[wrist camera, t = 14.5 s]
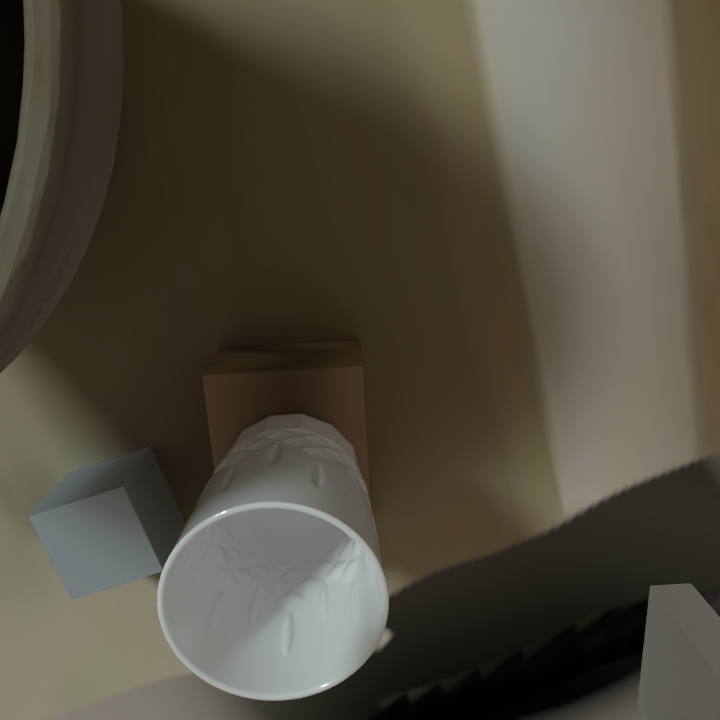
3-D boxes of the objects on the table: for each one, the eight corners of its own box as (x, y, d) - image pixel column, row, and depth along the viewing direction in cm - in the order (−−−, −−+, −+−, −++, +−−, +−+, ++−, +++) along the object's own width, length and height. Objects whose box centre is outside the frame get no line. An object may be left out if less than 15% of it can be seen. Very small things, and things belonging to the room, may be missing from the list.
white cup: (313, 574, 34) (304, 735, 24) (179, 495, 32) (113, 633, 22) (404, 457, 32) (435, 579, 22) (268, 368, 30) (238, 459, 21)
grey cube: (105, 546, 38) (71, 599, 34) (68, 472, 37) (28, 516, 32) (185, 521, 38) (163, 571, 33) (151, 445, 37) (123, 486, 32)
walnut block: (240, 530, 38) (227, 581, 33) (220, 348, 35) (202, 375, 30) (369, 521, 38) (374, 571, 34) (359, 339, 35) (363, 365, 31)
